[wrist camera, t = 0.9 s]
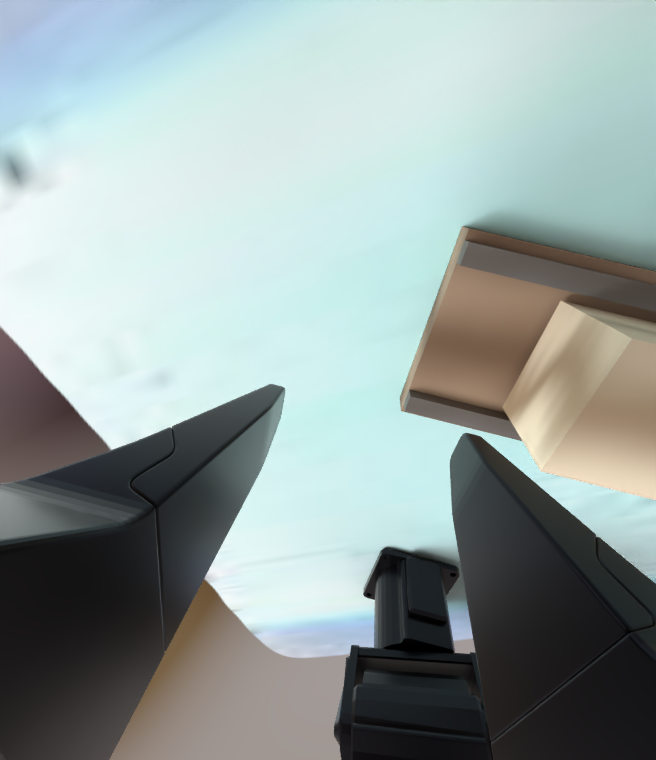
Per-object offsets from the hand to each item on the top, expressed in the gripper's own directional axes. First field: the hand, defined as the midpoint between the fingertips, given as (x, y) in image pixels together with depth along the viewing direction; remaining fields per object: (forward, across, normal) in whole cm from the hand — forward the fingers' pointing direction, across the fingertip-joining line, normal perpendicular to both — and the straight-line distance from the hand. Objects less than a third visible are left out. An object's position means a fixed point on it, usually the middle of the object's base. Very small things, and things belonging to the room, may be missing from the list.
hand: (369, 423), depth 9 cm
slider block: (+9, -11, 0) cm, 14 cm away
